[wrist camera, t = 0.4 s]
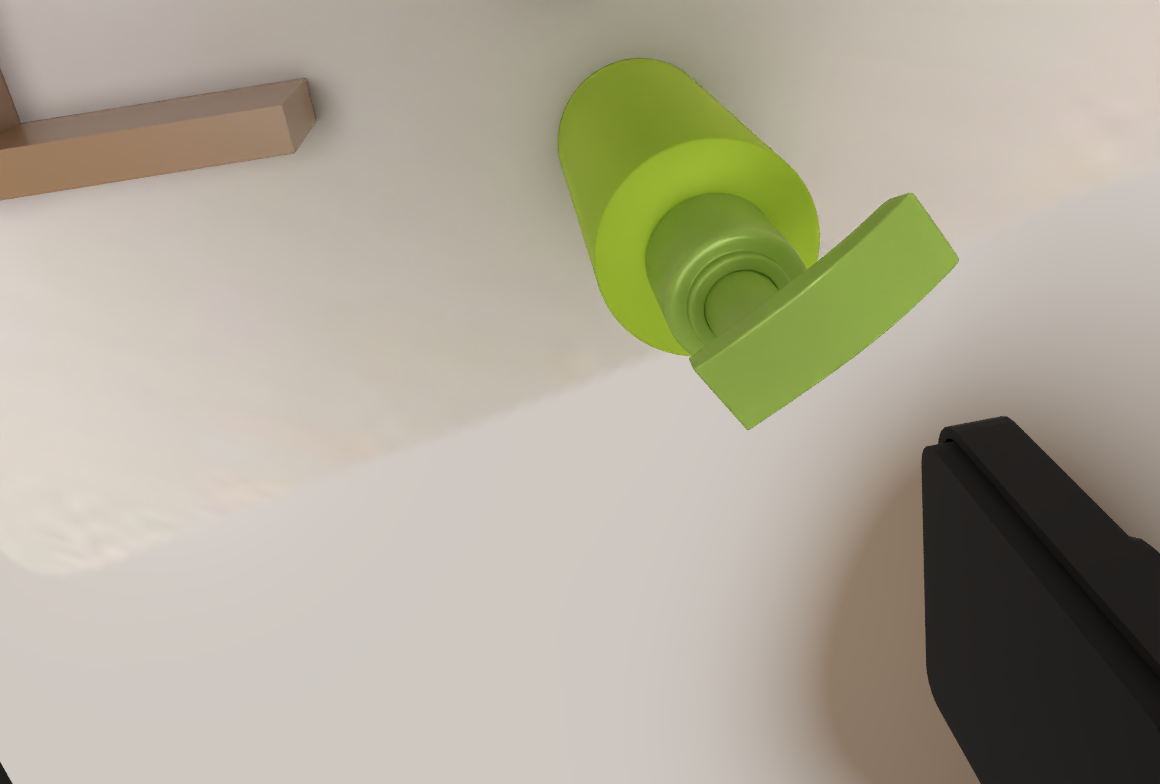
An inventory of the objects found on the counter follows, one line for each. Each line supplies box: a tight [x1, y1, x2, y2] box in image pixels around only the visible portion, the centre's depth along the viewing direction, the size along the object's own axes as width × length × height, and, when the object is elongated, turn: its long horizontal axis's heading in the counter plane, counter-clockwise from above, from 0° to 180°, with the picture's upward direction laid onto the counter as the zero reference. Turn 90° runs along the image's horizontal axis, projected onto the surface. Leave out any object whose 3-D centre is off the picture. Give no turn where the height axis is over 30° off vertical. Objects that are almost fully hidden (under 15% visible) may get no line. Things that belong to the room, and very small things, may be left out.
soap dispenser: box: [558, 58, 959, 430], centre depth 29 cm, size 6×7×20 cm
